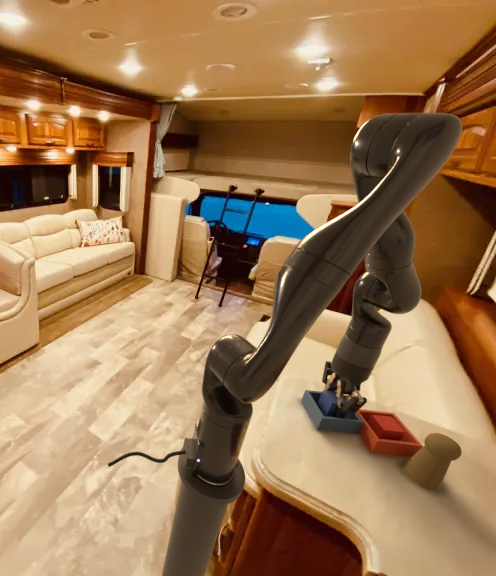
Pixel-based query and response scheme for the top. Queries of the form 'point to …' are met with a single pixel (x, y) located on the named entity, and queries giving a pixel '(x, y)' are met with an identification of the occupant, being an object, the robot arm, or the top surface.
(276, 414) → the top surface
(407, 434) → the red bin
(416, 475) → the cork
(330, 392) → the blue block
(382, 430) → the red block
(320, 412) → the blue bin
